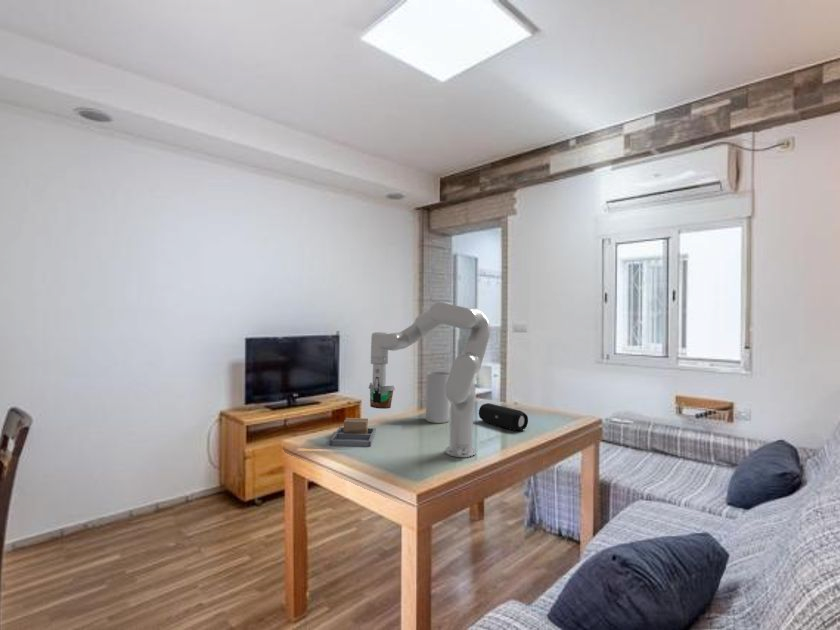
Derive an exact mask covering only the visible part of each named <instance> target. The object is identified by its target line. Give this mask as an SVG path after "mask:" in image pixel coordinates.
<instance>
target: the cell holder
mask: <svg viewBox="0 0 840 630" xmlns="http://www.w3.org/2000/svg"><path fill="white" fill-rule="evenodd" d="M376 433H377V428H375V427H368V434H348V433H344V426H339V427H338V429H337V430H336V431H335V433H334V434H333V436H332V437H331V439H329V446H333V447H334V446H336V447H337V446H341V447H367V448H369V447H372V444H373V442H374V439H375V435H376Z"/></svg>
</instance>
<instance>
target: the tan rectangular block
mask: <svg viewBox="0 0 840 630" xmlns="http://www.w3.org/2000/svg"><path fill="white" fill-rule="evenodd" d="M368 425H369V418H360V417H345V419H344V420H343V427H344V433H348V434H368V428H369V426H368Z"/></svg>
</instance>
